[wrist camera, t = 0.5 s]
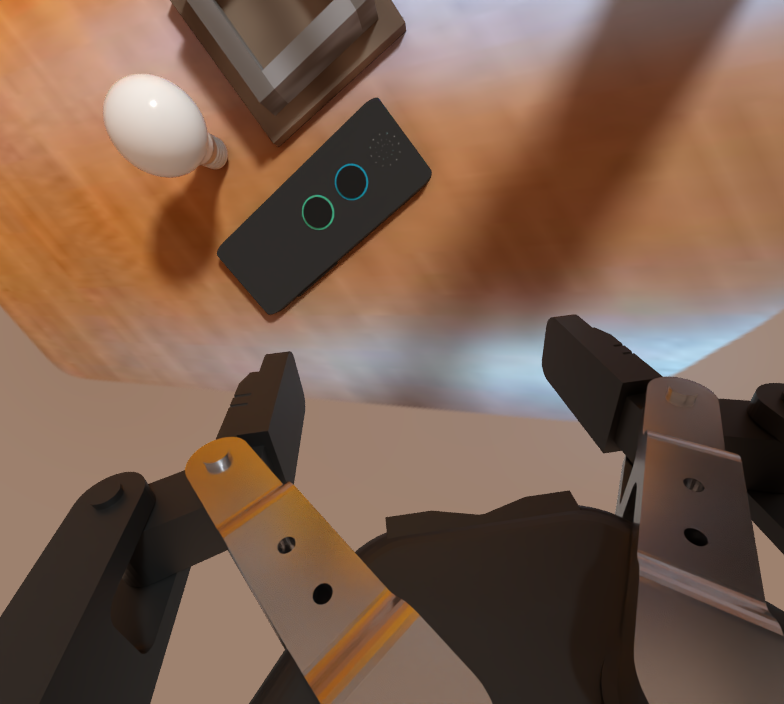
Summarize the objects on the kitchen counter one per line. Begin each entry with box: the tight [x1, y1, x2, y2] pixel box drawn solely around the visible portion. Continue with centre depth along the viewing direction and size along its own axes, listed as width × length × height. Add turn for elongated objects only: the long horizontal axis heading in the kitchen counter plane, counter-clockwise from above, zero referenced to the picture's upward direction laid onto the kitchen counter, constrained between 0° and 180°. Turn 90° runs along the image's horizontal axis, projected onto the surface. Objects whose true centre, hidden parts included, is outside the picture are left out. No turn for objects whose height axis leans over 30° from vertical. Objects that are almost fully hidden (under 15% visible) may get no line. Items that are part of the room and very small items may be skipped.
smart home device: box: [217, 98, 432, 315], centre depth 35 cm, size 8×2×20 cm
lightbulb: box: [103, 73, 228, 178], centre depth 29 cm, size 6×6×11 cm
